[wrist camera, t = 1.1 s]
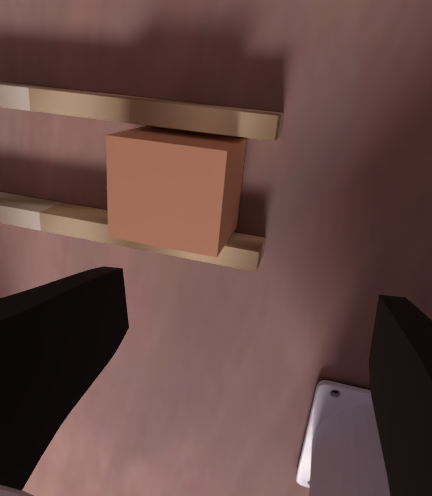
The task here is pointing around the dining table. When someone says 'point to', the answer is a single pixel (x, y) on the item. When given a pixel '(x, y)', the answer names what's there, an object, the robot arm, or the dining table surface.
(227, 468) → the dining table surface
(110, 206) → the block
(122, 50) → the dining table surface
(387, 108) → the dining table surface
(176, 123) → the chute
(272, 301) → the dining table surface
